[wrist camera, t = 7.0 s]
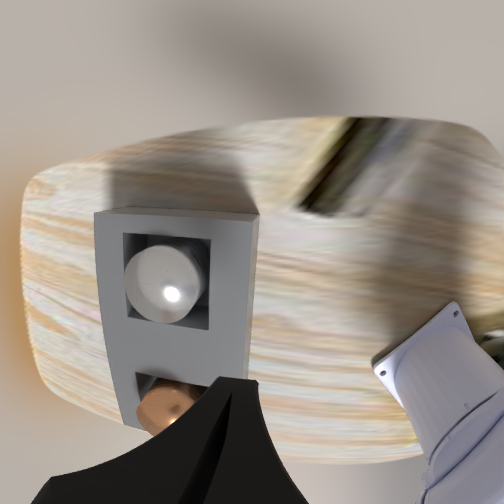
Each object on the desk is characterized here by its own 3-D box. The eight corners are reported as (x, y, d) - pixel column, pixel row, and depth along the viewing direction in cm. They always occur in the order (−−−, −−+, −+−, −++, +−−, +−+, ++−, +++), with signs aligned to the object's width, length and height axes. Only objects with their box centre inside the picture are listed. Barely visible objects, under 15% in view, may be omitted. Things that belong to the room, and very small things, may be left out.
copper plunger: (210, 411, 20) (197, 448, 16) (160, 401, 20) (141, 434, 16) (209, 371, 19) (194, 408, 15) (155, 361, 19) (131, 393, 15)
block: (244, 414, 22) (237, 449, 18) (142, 395, 22) (123, 424, 18) (259, 214, 18) (253, 221, 14) (127, 206, 19) (93, 212, 15)
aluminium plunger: (212, 300, 19) (195, 328, 15) (154, 292, 19) (127, 316, 15) (214, 237, 18) (195, 252, 14) (153, 233, 18) (122, 245, 14)
